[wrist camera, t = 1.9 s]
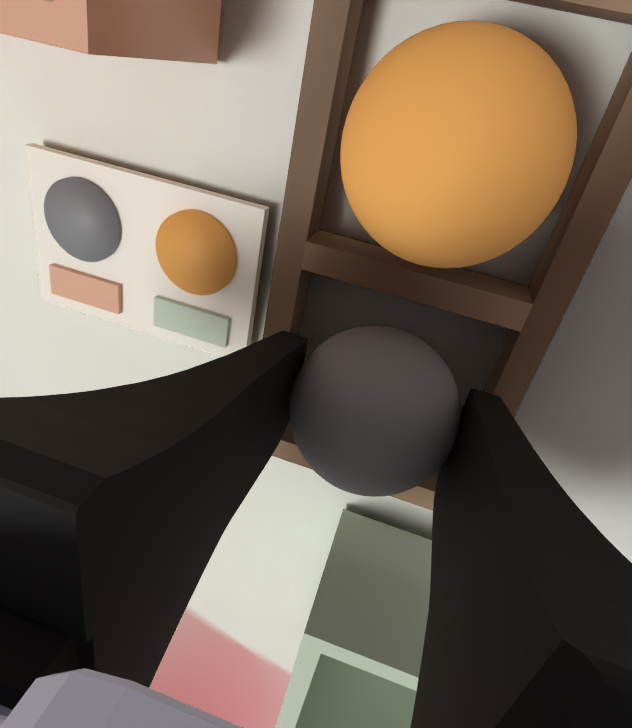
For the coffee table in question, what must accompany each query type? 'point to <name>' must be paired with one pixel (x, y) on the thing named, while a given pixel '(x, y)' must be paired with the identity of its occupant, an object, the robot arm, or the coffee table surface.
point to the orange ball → (458, 144)
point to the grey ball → (375, 410)
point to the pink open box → (119, 27)
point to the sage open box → (363, 631)
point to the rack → (429, 284)
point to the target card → (146, 250)
